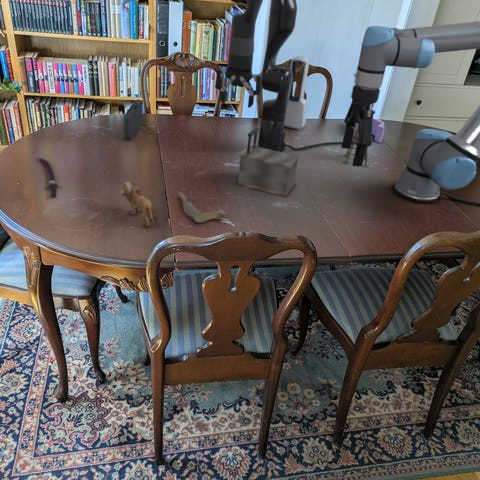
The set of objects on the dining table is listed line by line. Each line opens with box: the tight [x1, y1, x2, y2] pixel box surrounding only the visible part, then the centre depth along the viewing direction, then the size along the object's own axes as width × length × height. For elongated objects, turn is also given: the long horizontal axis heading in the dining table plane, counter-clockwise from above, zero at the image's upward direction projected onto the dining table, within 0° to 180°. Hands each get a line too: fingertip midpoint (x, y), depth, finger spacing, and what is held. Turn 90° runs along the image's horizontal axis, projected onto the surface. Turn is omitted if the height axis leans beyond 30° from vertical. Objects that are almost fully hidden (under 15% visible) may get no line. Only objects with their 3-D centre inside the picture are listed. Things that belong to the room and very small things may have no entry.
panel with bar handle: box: [237, 126, 299, 169], centre depth 154 cm, size 18×10×8 cm, turn 68°
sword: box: [40, 158, 59, 198], centre depth 151 cm, size 31×3×1 cm, turn 26°
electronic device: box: [284, 56, 310, 131], centre depth 208 cm, size 12×8×30 cm, turn 71°
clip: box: [353, 117, 386, 143], centre depth 214 cm, size 20×12×7 cm, turn 11°
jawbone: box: [177, 191, 228, 224], centre depth 141 cm, size 9×20×2 cm, turn 50°
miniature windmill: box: [345, 103, 376, 167], centre depth 179 cm, size 9×8×30 cm
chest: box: [237, 157, 299, 197], centre depth 159 cm, size 17×10×10 cm, turn 68°
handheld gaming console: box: [123, 99, 144, 141], centre depth 190 cm, size 23×3×10 cm, turn 178°
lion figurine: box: [119, 181, 159, 227], centre depth 134 cm, size 15×5×9 cm, turn 50°
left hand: (236, 105), depth 150 cm, fingers open, 8 cm apart
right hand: (351, 156), depth 143 cm, fingers open, 13 cm apart
